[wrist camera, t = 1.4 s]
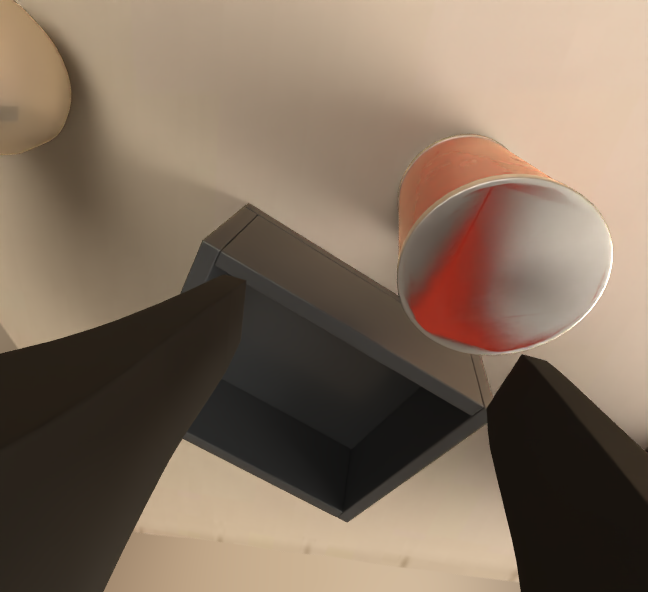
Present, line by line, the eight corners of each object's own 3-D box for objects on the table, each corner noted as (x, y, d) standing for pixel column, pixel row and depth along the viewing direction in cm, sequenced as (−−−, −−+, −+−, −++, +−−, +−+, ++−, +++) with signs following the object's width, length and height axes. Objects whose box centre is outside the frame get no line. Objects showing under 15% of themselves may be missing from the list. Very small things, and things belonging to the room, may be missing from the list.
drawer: (477, 344, 20) (499, 416, 16) (355, 451, 27) (347, 523, 22) (248, 202, 18) (202, 239, 14) (177, 354, 25) (130, 412, 21)
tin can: (549, 179, 15) (667, 255, 9) (463, 270, 18) (501, 382, 11) (449, 107, 15) (491, 129, 8) (375, 213, 18) (360, 296, 11)
